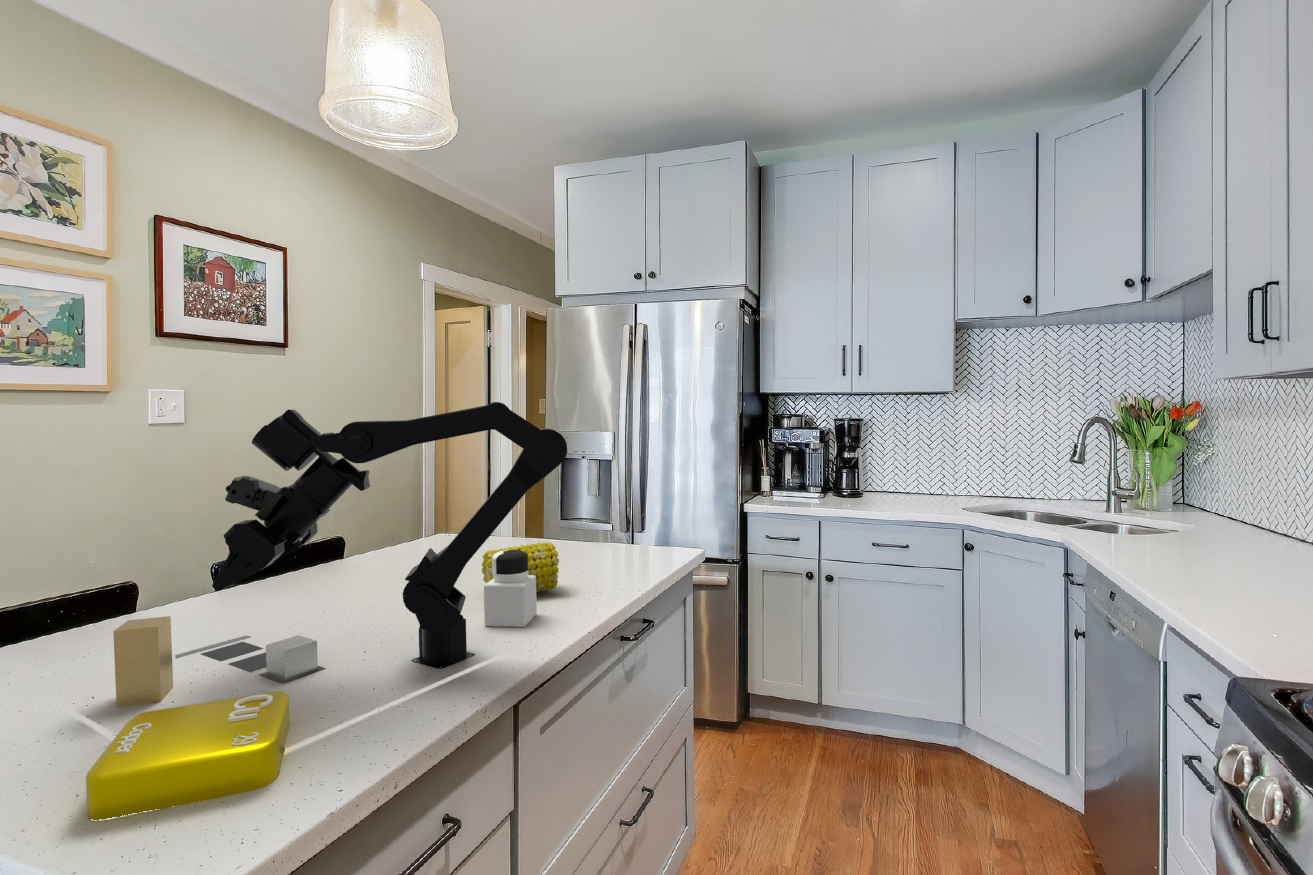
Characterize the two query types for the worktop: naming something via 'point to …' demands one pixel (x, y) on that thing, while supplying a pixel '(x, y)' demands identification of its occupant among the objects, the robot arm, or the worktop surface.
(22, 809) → the worktop surface
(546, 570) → the food
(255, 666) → the grey slotted plate
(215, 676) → the worktop surface
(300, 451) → the robot arm
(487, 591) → the medicine bottle
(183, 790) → the element tile
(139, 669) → the tan wooden block
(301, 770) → the worktop surface
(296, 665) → the zinc block
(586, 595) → the worktop surface
